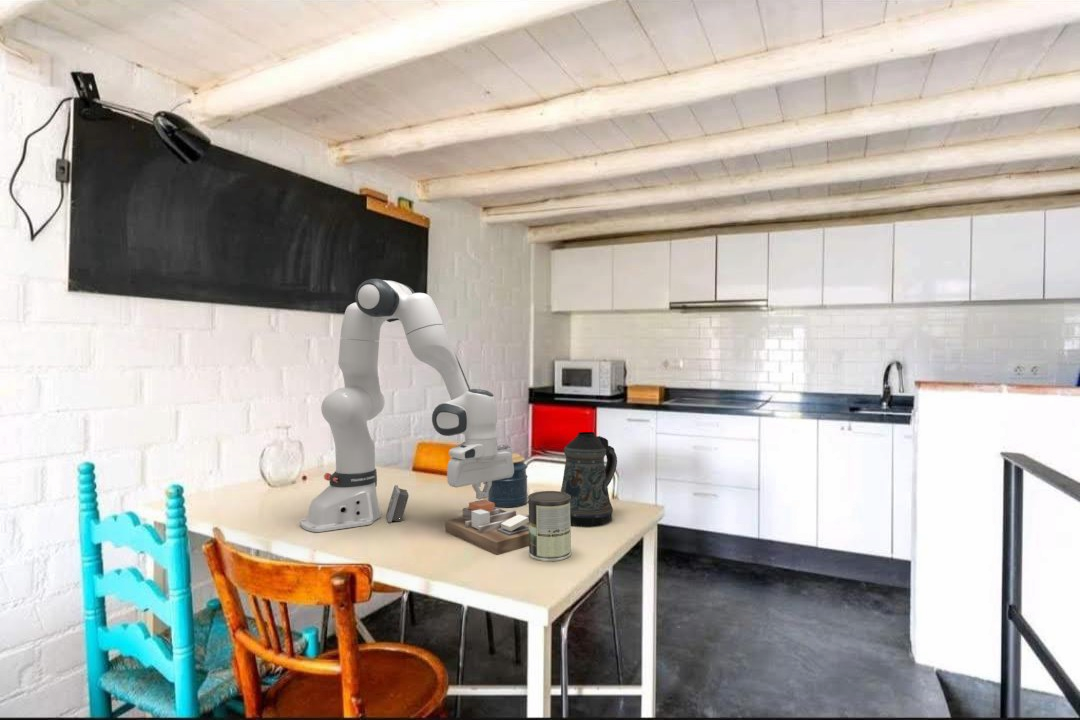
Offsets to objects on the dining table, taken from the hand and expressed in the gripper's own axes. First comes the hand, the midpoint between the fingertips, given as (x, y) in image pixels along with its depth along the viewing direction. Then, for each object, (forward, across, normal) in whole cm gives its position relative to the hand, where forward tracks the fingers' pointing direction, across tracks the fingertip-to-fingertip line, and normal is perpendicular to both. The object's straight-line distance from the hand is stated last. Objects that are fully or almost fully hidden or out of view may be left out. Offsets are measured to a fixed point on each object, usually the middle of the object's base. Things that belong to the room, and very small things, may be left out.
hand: (482, 498), depth 160 cm
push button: (+4, 0, 0) cm, 4 cm away
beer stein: (+9, -29, +11) cm, 32 cm away
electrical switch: (+9, +13, -26) cm, 30 cm away
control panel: (+8, 0, +7) cm, 11 cm away
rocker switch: (+4, 0, +15) cm, 15 cm away
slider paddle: (+6, +6, +7) cm, 11 cm away
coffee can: (+9, -1, +27) cm, 29 cm away
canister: (+9, -22, -18) cm, 29 cm away
